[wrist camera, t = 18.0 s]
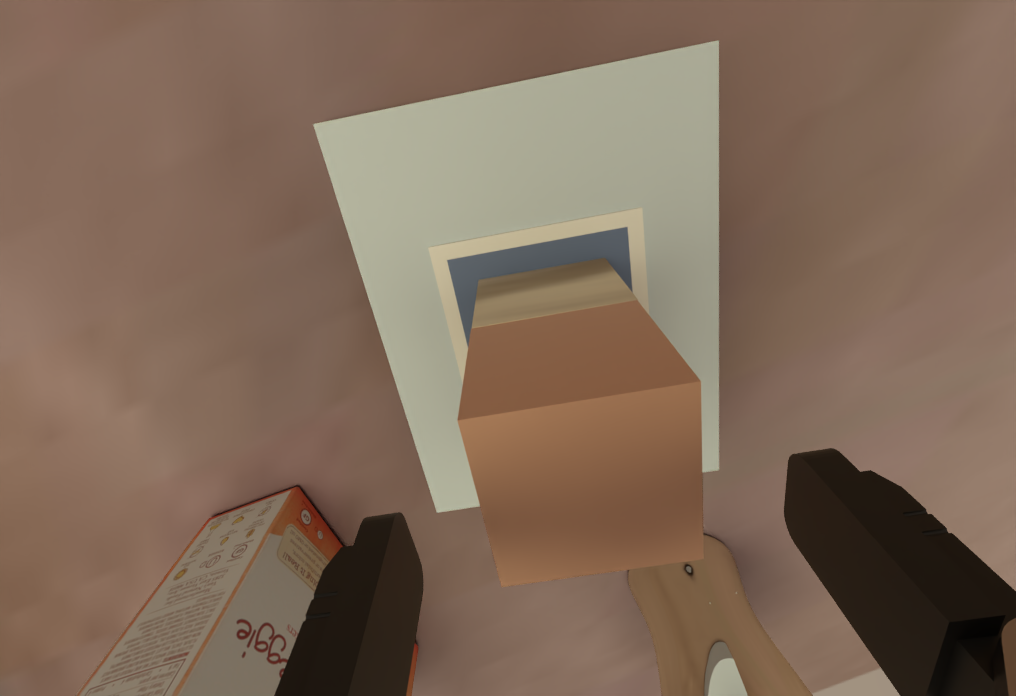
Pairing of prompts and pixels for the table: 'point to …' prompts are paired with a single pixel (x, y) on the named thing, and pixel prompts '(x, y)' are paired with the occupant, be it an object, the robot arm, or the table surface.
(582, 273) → the birch block
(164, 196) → the table surface
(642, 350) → the terracotta block
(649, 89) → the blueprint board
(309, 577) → the cracker box
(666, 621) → the beer glass
